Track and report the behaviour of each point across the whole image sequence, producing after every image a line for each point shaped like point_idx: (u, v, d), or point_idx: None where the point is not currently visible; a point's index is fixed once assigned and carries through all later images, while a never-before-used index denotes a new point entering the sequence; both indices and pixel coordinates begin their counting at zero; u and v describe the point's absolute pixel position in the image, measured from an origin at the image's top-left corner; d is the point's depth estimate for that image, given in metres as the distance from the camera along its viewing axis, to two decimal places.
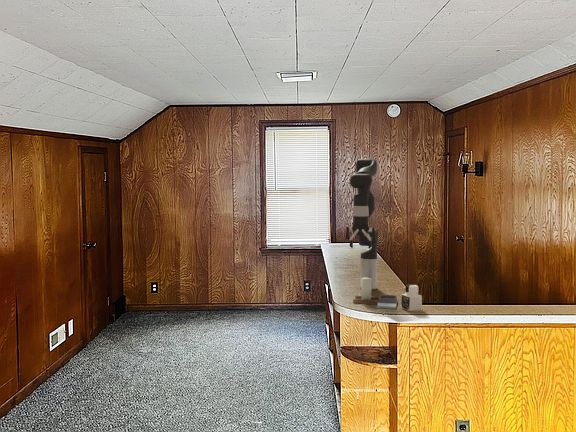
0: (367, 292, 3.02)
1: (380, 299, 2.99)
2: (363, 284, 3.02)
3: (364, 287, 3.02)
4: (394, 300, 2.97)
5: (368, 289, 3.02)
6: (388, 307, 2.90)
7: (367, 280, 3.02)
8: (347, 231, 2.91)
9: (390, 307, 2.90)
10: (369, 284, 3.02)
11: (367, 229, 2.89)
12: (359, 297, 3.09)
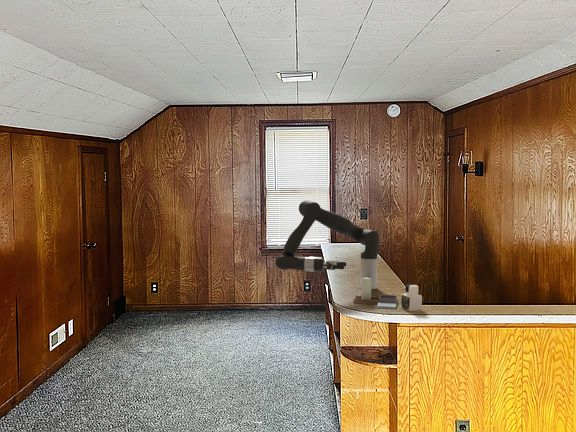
0: (367, 292, 3.02)
1: (380, 299, 2.99)
2: (363, 284, 3.02)
3: (364, 287, 3.02)
4: (394, 300, 2.97)
5: (368, 289, 3.02)
6: (388, 307, 2.90)
7: (367, 280, 3.02)
8: None
9: (390, 307, 2.90)
10: (369, 284, 3.02)
11: None
12: (359, 297, 3.09)
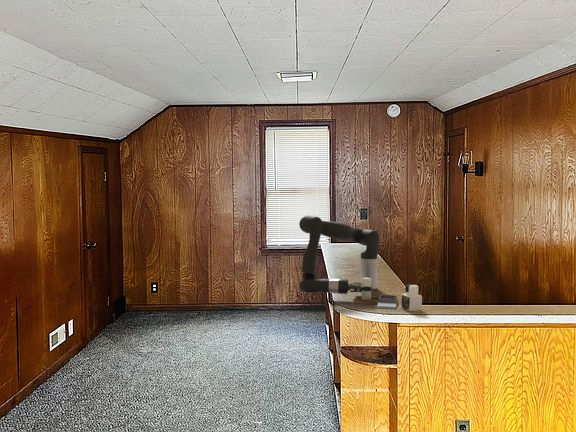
0: (367, 292, 3.02)
1: (380, 299, 2.99)
2: (363, 284, 3.02)
3: None
4: (394, 300, 2.97)
5: None
6: (388, 307, 2.90)
7: (367, 280, 3.02)
8: None
9: (390, 307, 2.90)
10: (369, 284, 3.02)
11: None
12: (359, 297, 3.09)
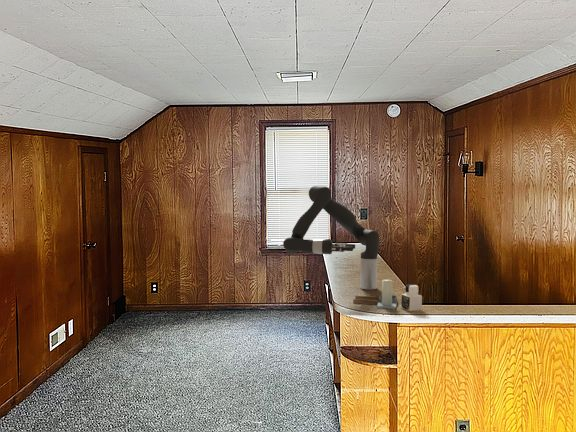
0: (387, 294, 2.91)
1: (380, 299, 2.99)
2: (384, 286, 2.92)
3: (385, 289, 2.91)
4: (394, 300, 2.97)
5: (389, 291, 2.91)
6: (388, 307, 2.90)
7: (388, 282, 2.91)
8: None
9: (390, 307, 2.90)
10: (390, 286, 2.91)
11: None
12: (359, 297, 3.09)
